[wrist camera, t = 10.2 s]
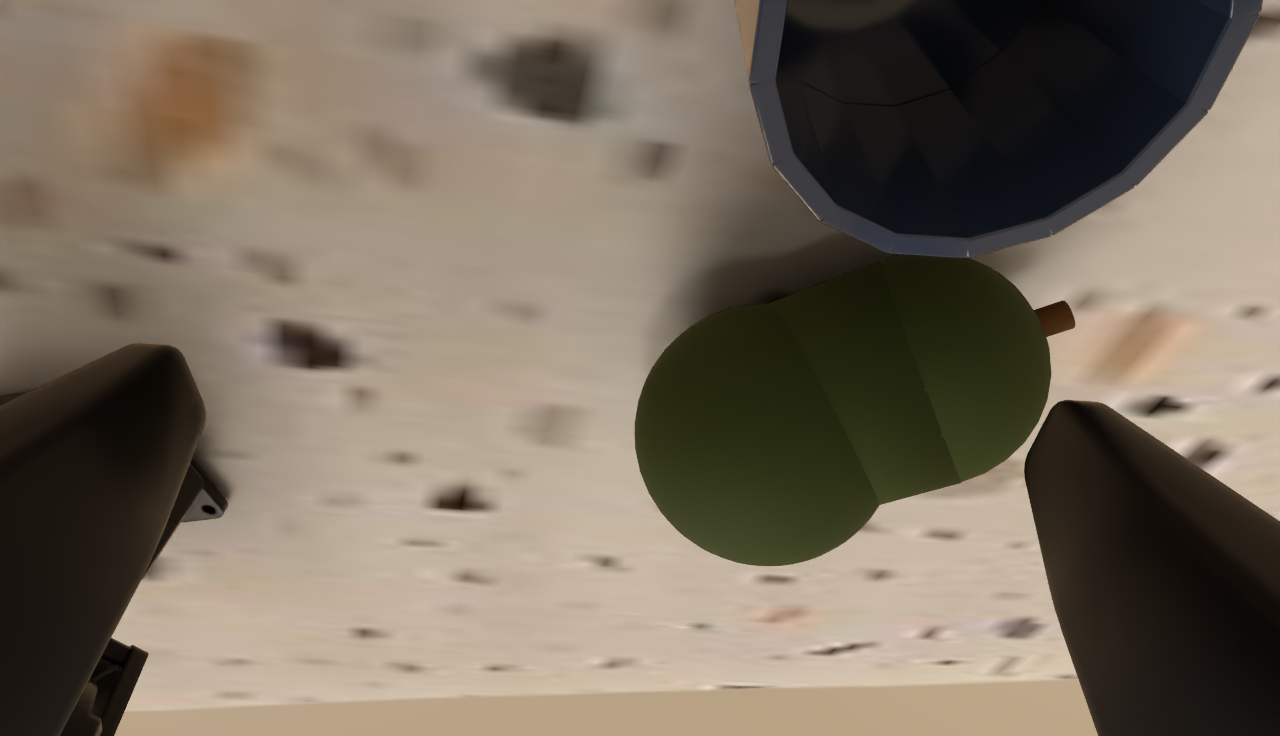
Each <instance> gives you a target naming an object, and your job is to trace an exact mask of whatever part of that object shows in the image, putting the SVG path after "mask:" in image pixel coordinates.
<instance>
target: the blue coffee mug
mask: <svg viewBox="0 0 1280 736" xmlns="http://www.w3.org/2000/svg"><path fill="white" fill-rule="evenodd" d="M1262 2H1263V0H735V4H736V10H737V16H738V22H739V28H740V34H741V40H742V45H743V51H744V57H745V63H746V69H747V75H748V81H749V87H750V90H751V94H752V98H753V101H754V105H755V109H756V112H757V116H758V120H759V123H760V127H761V131H762V134H763V138H764V142H765V145H766V149H767V153H768V156H769V160H770V162H771V163H772V166H773V168H774V169H775V170H776V171H777V172H778V173H779V175H780V176H781V177H782V178H783V179H784V181H785V182H786V183H787V184H788V185H789V186H790V188H791V189H792V190H793V191H794V192H795V194H796V195H797V196H798V197H799V198H800V199H801V201H802V202H803V203H804V204H805V205H806V206H807V208H808V209H809V210H810V211H811V212H812V214H813V215H814V216H815V217H816V218H817V219H818V220H819V221H821V222H822V223H824V224H826V225H828V226H830V227H832V228H834V229H836V230H838V231H841V232H843V233H845V234H847V235H849V236H851V237H853V238H856V239H858V240H860V241H862V242H864V243H866V244H868V245H871V246H873V247H875V248H877V249H879V250H881V251H883V252H888V253H890V254H905V255H921V256H937V257H953V258H966V257H968V258H970V257H974V256H978V255H981V254H985V253H989V252H993V251H997V250H1001V249H1005V248H1008V247H1012V246H1016V245H1020V244H1024V243H1028V242H1032V241H1035V240H1039V239H1043V238H1047V237H1050V236H1051V235H1055V234H1056V233H1058V232H1060V231H1062V230H1063V229H1065V228H1067V227H1068V226H1070V225H1072V224H1074V223H1075V222H1077V221H1079V220H1080V219H1082V218H1084V217H1085V216H1087V215H1089V214H1091V213H1092V212H1094V211H1096V210H1097V209H1099V208H1101V207H1102V206H1104V205H1106V204H1108V203H1109V202H1111V201H1113V200H1114V199H1116V198H1118V197H1119V196H1121V195H1123V194H1125V193H1126V192H1128V191H1130V190H1131V189H1133V188H1134V185H1138V184H1139V183H1140V182H1141V181H1142V180H1143V179H1144V178H1145V177H1146V176H1147V175H1148V174H1149V173H1150V172H1151V171H1152V170H1153V169H1154V168H1155V167H1156V166H1157V165H1158V164H1159V163H1160V162H1161V160H1162V159H1163V158H1164V157H1165V156H1166V155H1167V154H1168V153H1169V152H1170V151H1171V150H1172V149H1173V148H1174V147H1175V146H1176V145H1177V144H1178V143H1179V142H1180V141H1181V140H1182V139H1183V138H1184V137H1185V136H1186V135H1187V134H1188V133H1189V132H1190V131H1191V130H1192V129H1193V128H1194V127H1195V126H1196V125H1197V124H1198V123H1199V121H1200V120H1201V119H1202V118H1203V117H1204V116H1205V115H1206V114H1207V113H1208V111H1207V110H1210V109H1211V108H1212V106H1213V104H1214V102H1215V100H1216V98H1217V96H1218V94H1219V92H1220V90H1221V89H1222V87H1223V85H1224V83H1225V81H1226V79H1227V77H1228V75H1229V73H1230V71H1231V70H1232V68H1233V66H1234V64H1235V62H1236V60H1237V58H1238V56H1239V54H1240V52H1241V51H1242V49H1243V47H1244V45H1245V43H1246V41H1247V39H1248V37H1249V35H1250V33H1251V32H1252V30H1253V28H1254V26H1255V24H1256V22H1257V20H1258V18H1259V13H1260V12H1261V10H1262Z"/></svg>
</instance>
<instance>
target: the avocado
mask: <svg viewBox="0 0 1280 736" xmlns="http://www.w3.org/2000/svg"><path fill="white" fill-rule="evenodd" d="M1074 327H1075V320H1074V316H1073V314H1072V311H1071V309H1070V307H1069V305H1068V304H1067V303H1066V302H1065V301H1060V302H1057V303H1054V304H1051V305H1048V306H1045V307H1042V308H1039V309H1036V310H1033V309H1032V308H1031V306H1030V304H1029V303H1028V301H1027V300H1026V298H1025V297H1024V296H1023V295H1022V293H1021V292H1020V291H1019V290H1018V289H1017V288H1016V286H1015V285H1013V284H1012V283H1011V282H1010V281H1009V280H1007V279H1006V278H1005V277H1004V276H1002V275H1001V274H1000V273H999V272H997V271H995V270H993V269H992V268H990V267H988V266H986V265H984V264H982V263H980V262H977V261H975V260H972V259H969V258H953V257H937V256H921V255H901V256H897V257H894V258H890V259H886V260H883V261H879V262H877V263H874V264H872V265H869V266H866V267H864V268H861V269H859V270H856V271H853V272H851V273H848V274H845V275H843V276H840V277H837V278H835V279H832V280H829V281H827V282H824V283H822V284H819V285H816V286H814V287H811V288H808V289H806V290H803V291H800V292H798V293H795V294H792V295H790V296H787V297H785V298H782V299H779V300H777V301H774V302H771V303H769V304H754V305H745V306H740V307H735V308H731V309H728V310H725V311H722V312H719V313H716V314H714V315H711V316H709V317H707V318H705V319H703V320H701V321H699V322H698V323H696V324H694V325H693V326H691V327H690V328H688V329H687V330H686V331H685V332H683V333H682V334H681V335H680V336H678V337H677V338H676V339H675V340H674V341H673V342H672V343H671V344H670V345H669V346H668V347H667V348H666V349H665V351H664V352H663V353H662V355H661V356H660V357H659V359H658V360H657V362H656V363H655V365H654V366H653V368H652V369H651V371H650V373H649V375H648V377H647V379H646V381H645V384H644V387H643V389H642V392H641V395H640V398H639V401H638V407H637V413H636V420H635V449H636V454H637V459H638V463H639V468H640V472H641V475H642V477H643V480H644V482H645V485H646V487H647V489H648V492H649V494H650V495H651V497H652V499H653V500H654V502H655V503H656V505H657V507H658V508H659V510H660V511H661V513H662V514H663V515H664V516H665V517H666V519H667V520H668V521H669V522H670V523H671V524H672V525H673V526H674V527H675V528H676V529H677V530H678V531H679V532H680V533H681V534H682V535H684V536H685V537H686V538H687V539H689V540H690V541H692V542H693V543H695V544H696V545H698V546H699V547H701V548H702V549H704V550H706V551H708V552H710V553H712V554H715V555H717V556H720V557H722V558H725V559H728V560H731V561H734V562H738V563H743V564H748V565H757V566H781V565H789V564H795V563H799V562H804V561H807V560H810V559H813V558H816V557H818V556H821V555H823V554H825V553H827V552H829V551H831V550H832V549H834V548H836V547H838V546H840V545H841V544H843V543H844V542H846V541H847V540H848V539H850V538H851V537H852V536H853V535H854V534H855V533H857V532H858V531H859V530H860V529H861V528H862V527H863V526H864V525H865V524H866V523H867V522H868V520H869V519H870V518H871V517H872V515H873V514H874V512H875V511H876V509H877V508H878V507H879V505H881V504H885V503H888V502H892V501H896V500H899V499H903V498H907V497H910V496H914V495H918V494H921V493H925V492H929V491H932V490H936V489H940V488H943V487H947V486H951V485H955V484H958V483H961V482H963V481H966V480H968V479H971V478H974V477H976V476H979V475H981V474H984V473H986V472H987V471H989V470H991V469H992V468H994V467H995V466H997V465H999V464H1000V463H1002V462H1003V461H1005V460H1007V459H1008V458H1009V457H1010V456H1011V455H1012V454H1013V453H1014V452H1015V451H1016V450H1017V449H1018V448H1019V447H1020V446H1021V445H1022V444H1023V443H1024V442H1025V441H1026V439H1027V438H1028V437H1029V435H1030V434H1031V432H1032V431H1033V429H1034V428H1035V426H1036V425H1037V423H1038V422H1039V419H1040V417H1041V414H1042V412H1043V409H1044V407H1045V404H1046V402H1047V398H1048V392H1049V386H1050V379H1051V364H1050V352H1049V346H1048V342H1047V339H1046V337H1048V336H1051V335H1054V334H1057V333H1060V332H1063V331H1066V330H1069V329H1073V328H1074Z"/></svg>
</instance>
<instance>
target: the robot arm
mask: <svg viewBox="0 0 1280 736" xmlns="http://www.w3.org/2000/svg"><path fill="white" fill-rule="evenodd" d="M204 424H205V406H204V403H203V400H202V398H201V396H200V393H199V391H198V388H197V386H196V384H195V381H194V379H193V377H192V374H191V372H190V369H189V367H188V365H187V362H186V360H185V358H184V356H183V354H182V353H181V352H180V351H179V350H178V349H177V348H175V347H173V346H170V345H159V344H142V343H138V344H130V345H127V346H125V347H123V348H121V349H119V350H117V351H114V352H112V353H110V354H108V355H106V356H104V357H102V358H100V359H98V360H95V361H93V362H91V363H89V364H87V365H85V366H83V367H81V368H79V369H76V370H74V371H72V372H70V373H68V374H66V375H64V376H62V377H60V378H58V379H55V380H53V381H51V382H49V383H47V384H45V385H43V386H41V387H39V388H36V389H34V390H32V391H30V392H27V393H21V394H14V395H8V396H2V397H0V736H114V734H115V732H116V730H117V727H118V725H119V723H120V720H121V718H122V716H123V713H124V711H125V709H126V706H127V704H128V702H129V699H130V697H131V694H132V692H133V690H134V687H135V685H136V683H137V680H138V678H139V676H140V673H141V671H142V669H143V666H144V664H145V662H146V659H147V657H148V652H146V651H144V650H142V649H140V648H138V647H136V646H134V645H132V646H130V647H129V646H127V645H125V644H123V643H121V642H119V641H117V640H115V639H113V638H111V637H112V635H113V633H114V631H115V629H116V627H117V625H118V623H119V621H120V619H121V617H122V616H123V614H124V612H125V610H126V608H127V606H128V604H129V602H130V600H131V598H132V596H133V594H134V593H135V591H136V589H137V587H138V585H139V583H140V581H141V580H142V579H143V578H144V577H145V576H146V574H147V573H148V571H149V570H150V568H151V567H152V565H153V564H154V562H155V561H156V559H157V558H158V556H159V555H160V553H161V551H162V550H163V548H164V547H165V545H166V544H167V542H168V541H169V539H170V538H171V536H172V535H173V533H174V532H175V530H176V529H177V527H178V525H179V524H180V523H181V522H190V521H198V520H207V519H216V518H220V517H221V516H222V515H223V514H224V512H225V510H226V509H227V507H228V502H227V501H226V499H225V498H224V497H223V496H222V494H221V493H220V492H219V491H218V490H217V489H216V487H215V486H214V485H213V484H212V483H211V481H210V480H209V479H208V478H207V477H206V475H205V474H204V473H203V472H202V471H201V470H200V468H199V467H198V466H197V465H196V464H195V462H194V461H193V460H192V457H193V454H194V452H195V449H196V447H197V444H198V441H199V439H200V436H201V434H202V431H203V428H204ZM1024 473H1025V481H1026V486H1027V490H1028V495H1029V499H1030V504H1031V508H1032V513H1033V517H1034V521H1035V526H1036V530H1037V535H1038V539H1039V544H1040V548H1041V553H1042V557H1043V562H1044V566H1045V570H1046V575H1047V579H1048V584H1049V588H1050V592H1051V596H1052V600H1053V604H1054V607H1055V611H1056V614H1057V617H1058V620H1059V623H1060V627H1061V630H1062V633H1063V636H1064V638H1065V641H1066V644H1067V647H1068V650H1069V653H1070V656H1071V659H1072V662H1073V664H1074V667H1075V670H1076V673H1077V676H1078V679H1079V682H1080V685H1081V687H1082V690H1083V693H1084V696H1085V699H1086V702H1087V704H1088V708H1089V710H1090V713H1091V716H1092V719H1093V722H1094V725H1095V728H1096V731H1097V733H1098V736H1280V521H1278V520H1277V519H1275V518H1274V517H1272V516H1271V515H1269V514H1268V513H1266V512H1265V511H1263V510H1262V509H1260V508H1259V507H1257V506H1256V505H1255V504H1253V503H1252V502H1250V501H1249V500H1247V499H1246V498H1244V497H1243V496H1241V495H1240V494H1238V493H1237V492H1235V491H1234V490H1232V489H1231V488H1229V487H1228V486H1226V485H1225V484H1223V483H1222V482H1220V481H1219V480H1217V479H1216V478H1214V477H1213V476H1211V475H1210V474H1208V473H1207V472H1205V471H1204V470H1202V469H1201V468H1199V467H1198V466H1196V465H1195V464H1193V463H1192V462H1190V461H1189V460H1187V459H1186V458H1184V457H1183V456H1181V455H1180V454H1179V453H1177V452H1176V451H1174V450H1173V449H1171V448H1170V447H1168V446H1167V445H1165V444H1164V443H1162V442H1161V441H1159V440H1158V439H1156V438H1155V437H1153V436H1152V435H1150V434H1149V433H1147V432H1146V431H1144V430H1143V429H1141V428H1140V427H1138V426H1137V425H1135V424H1134V423H1132V422H1131V421H1129V420H1128V419H1126V418H1125V417H1123V416H1122V415H1120V414H1119V413H1117V412H1116V411H1114V410H1113V409H1111V408H1110V407H1108V406H1107V405H1105V404H1102V403H1099V402H1091V401H1074V400H1064V401H1060V402H1058V403H1057V404H1056V405H1054V406H1053V407H1052V409H1051V410H1050V412H1049V414H1048V416H1047V418H1046V420H1045V421H1044V423H1043V425H1042V427H1041V429H1040V431H1039V433H1038V435H1037V437H1036V439H1035V441H1034V443H1033V444H1032V446H1031V448H1030V450H1029V452H1028V454H1027V457H1026V461H1025V468H1024Z"/></svg>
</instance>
